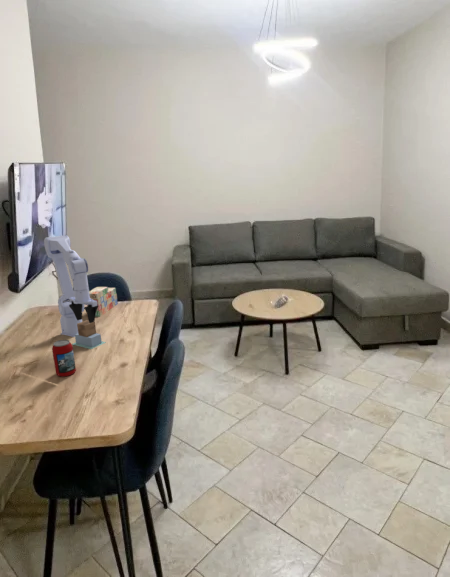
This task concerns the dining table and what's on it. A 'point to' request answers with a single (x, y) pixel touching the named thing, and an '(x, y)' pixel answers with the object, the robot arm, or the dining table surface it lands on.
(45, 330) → the dining table surface
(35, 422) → the dining table surface
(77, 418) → the dining table surface
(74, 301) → the robot arm
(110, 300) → the stack of blocks
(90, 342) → the base block
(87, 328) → the walnut cube
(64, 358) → the beverage can
